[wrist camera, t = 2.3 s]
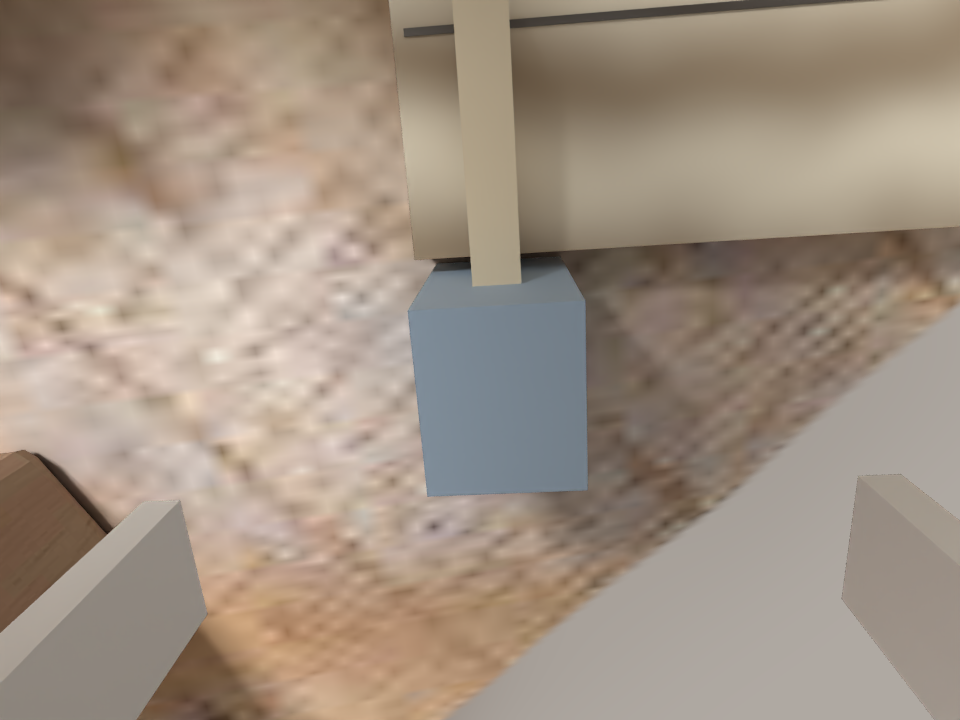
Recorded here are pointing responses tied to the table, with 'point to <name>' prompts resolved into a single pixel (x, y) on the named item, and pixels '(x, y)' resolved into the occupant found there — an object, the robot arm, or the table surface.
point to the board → (694, 120)
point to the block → (37, 532)
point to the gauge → (497, 311)
